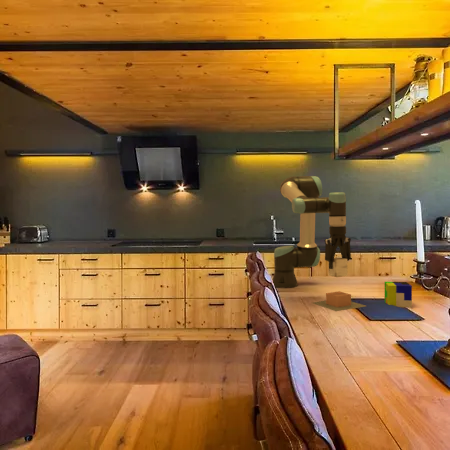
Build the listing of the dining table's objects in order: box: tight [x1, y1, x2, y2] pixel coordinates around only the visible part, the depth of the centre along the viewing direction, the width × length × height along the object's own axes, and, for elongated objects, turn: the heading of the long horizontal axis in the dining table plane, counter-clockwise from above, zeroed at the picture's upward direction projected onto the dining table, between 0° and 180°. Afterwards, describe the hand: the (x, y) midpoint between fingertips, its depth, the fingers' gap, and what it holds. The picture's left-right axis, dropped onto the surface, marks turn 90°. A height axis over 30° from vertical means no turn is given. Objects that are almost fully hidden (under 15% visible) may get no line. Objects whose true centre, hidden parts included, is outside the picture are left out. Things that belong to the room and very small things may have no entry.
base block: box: [325, 290, 352, 307], centre depth 191 cm, size 8×8×5 cm
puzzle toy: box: [384, 281, 413, 309], centre depth 192 cm, size 10×10×10 cm
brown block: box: [328, 257, 349, 278], centre depth 190 cm, size 6×6×8 cm
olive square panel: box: [312, 300, 366, 312], centre depth 191 cm, size 18×18×1 cm
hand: (338, 275), depth 190 cm, fingers closed on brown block, 6 cm apart
